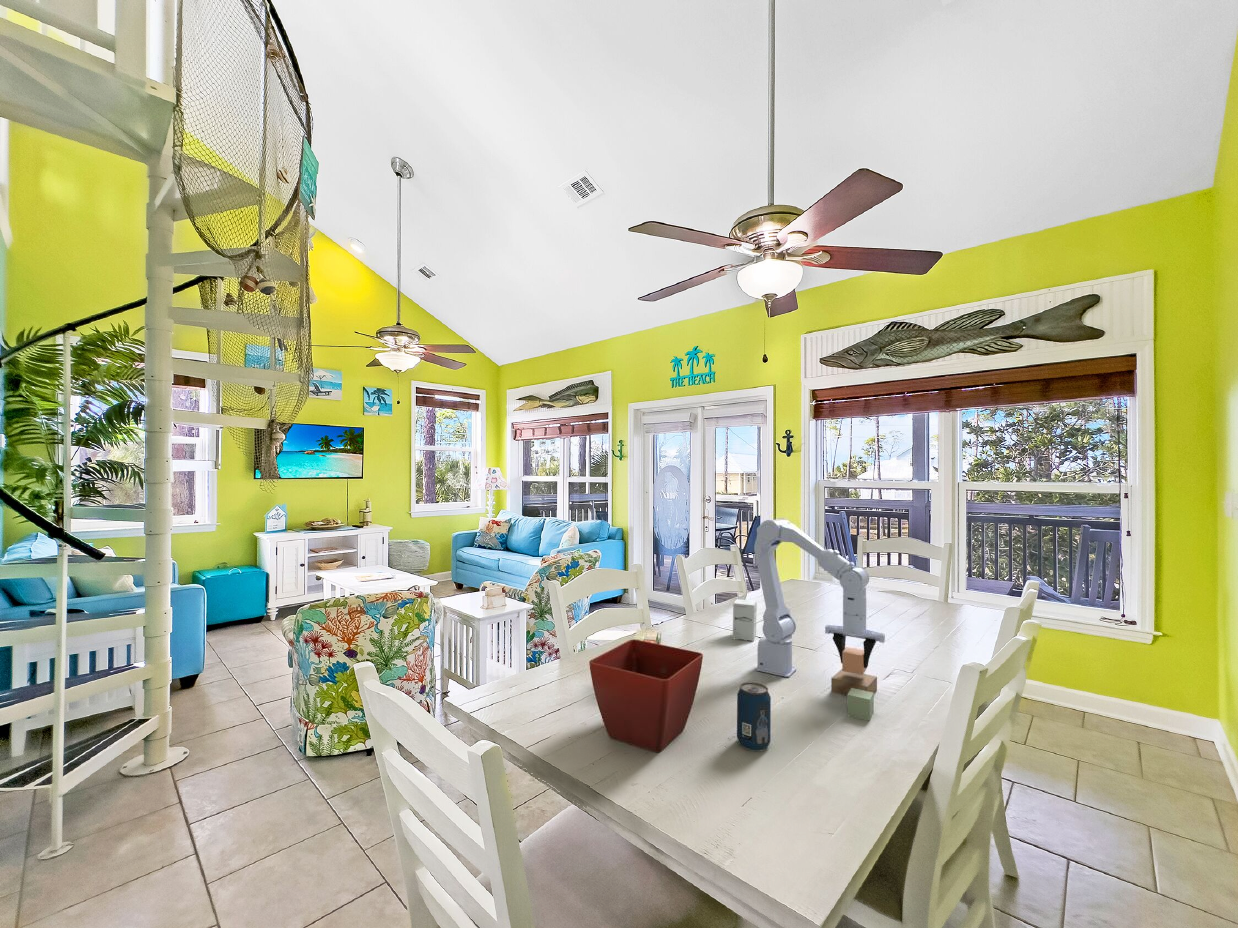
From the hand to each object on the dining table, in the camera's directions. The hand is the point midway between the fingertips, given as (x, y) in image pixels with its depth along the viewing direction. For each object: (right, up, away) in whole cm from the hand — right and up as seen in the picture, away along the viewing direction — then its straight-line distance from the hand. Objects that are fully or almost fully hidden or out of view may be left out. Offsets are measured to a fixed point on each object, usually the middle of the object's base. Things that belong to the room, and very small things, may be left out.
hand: (854, 664), depth 144 cm
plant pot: (-56, -6, -25) cm, 62 cm away
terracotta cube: (0, -1, 0) cm, 1 cm away
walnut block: (0, -7, 0) cm, 7 cm away
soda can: (-34, -6, -29) cm, 45 cm away
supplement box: (-18, -8, +46) cm, 50 cm away
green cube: (-5, -7, -14) cm, 16 cm away
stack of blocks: (-55, -7, +11) cm, 56 cm away
